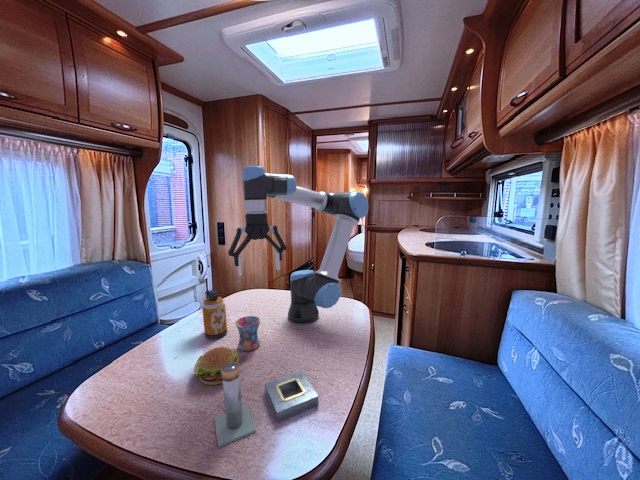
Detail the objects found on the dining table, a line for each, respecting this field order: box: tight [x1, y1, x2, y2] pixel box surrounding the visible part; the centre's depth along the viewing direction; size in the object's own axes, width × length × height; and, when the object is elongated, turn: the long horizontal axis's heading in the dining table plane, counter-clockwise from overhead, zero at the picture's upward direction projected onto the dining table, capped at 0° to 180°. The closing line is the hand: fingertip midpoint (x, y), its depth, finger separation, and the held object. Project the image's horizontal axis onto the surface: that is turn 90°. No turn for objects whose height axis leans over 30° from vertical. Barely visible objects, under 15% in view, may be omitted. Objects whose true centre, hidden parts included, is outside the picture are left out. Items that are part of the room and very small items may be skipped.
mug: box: [234, 315, 261, 352], centre depth 102 cm, size 12×9×11 cm
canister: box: [201, 288, 228, 340], centre depth 110 cm, size 9×11×20 cm
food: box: [193, 346, 240, 386], centre depth 85 cm, size 14×14×8 cm
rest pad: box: [214, 404, 257, 448], centre depth 66 cm, size 9×9×1 cm
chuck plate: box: [264, 370, 319, 423], centre depth 75 cm, size 12×12×3 cm
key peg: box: [221, 362, 243, 430], centre depth 65 cm, size 4×4×16 cm
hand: (259, 272), depth 92 cm, fingers open, 13 cm apart
